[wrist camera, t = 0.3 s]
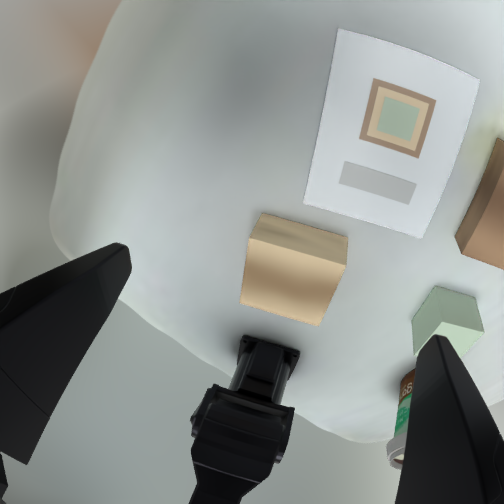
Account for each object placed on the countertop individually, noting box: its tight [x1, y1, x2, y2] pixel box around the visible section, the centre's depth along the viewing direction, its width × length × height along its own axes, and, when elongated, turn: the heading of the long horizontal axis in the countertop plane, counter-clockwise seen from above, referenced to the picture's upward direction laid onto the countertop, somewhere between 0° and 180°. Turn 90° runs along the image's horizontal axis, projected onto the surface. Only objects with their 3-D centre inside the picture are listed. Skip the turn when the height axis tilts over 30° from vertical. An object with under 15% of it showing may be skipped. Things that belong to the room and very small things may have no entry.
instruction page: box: [303, 28, 480, 239], centre depth 16 cm, size 12×9×1 cm
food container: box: [386, 368, 416, 470], centre depth 26 cm, size 12×6×10 cm, turn 17°
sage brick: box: [411, 286, 484, 358], centre depth 21 cm, size 4×4×4 cm
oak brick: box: [239, 213, 348, 326], centre depth 23 cm, size 6×6×4 cm
